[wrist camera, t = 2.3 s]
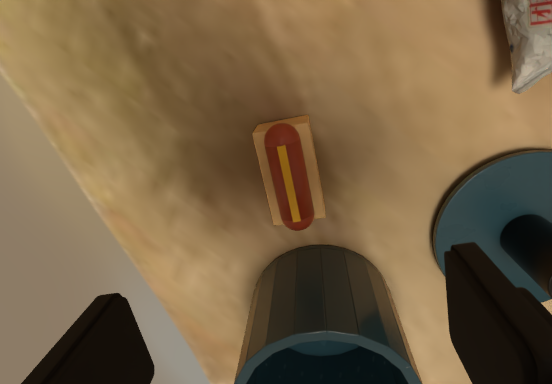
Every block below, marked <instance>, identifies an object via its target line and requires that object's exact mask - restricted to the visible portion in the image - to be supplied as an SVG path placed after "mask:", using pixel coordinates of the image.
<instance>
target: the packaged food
mask: <svg viewBox="0 0 552 384" xmlns="http://www.w3.org/2000/svg"><path fill="white" fill-rule="evenodd" d="M501 3H502V13H503V18H504V24H505V29H506V34H507V40H508V44H509V48H510V53H511V63H512V91H513V92H515V93H518V94H520V93H522V92H525V91H526V90H528V89H529V88H530V87H532V86H533V85H534V84H535V83H536V82H538V81H539V80H540V79H541V78H543V77H544V76H546V75H548V74H550V73H551V72H552V0H501ZM547 68H548V69H547Z"/></svg>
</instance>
